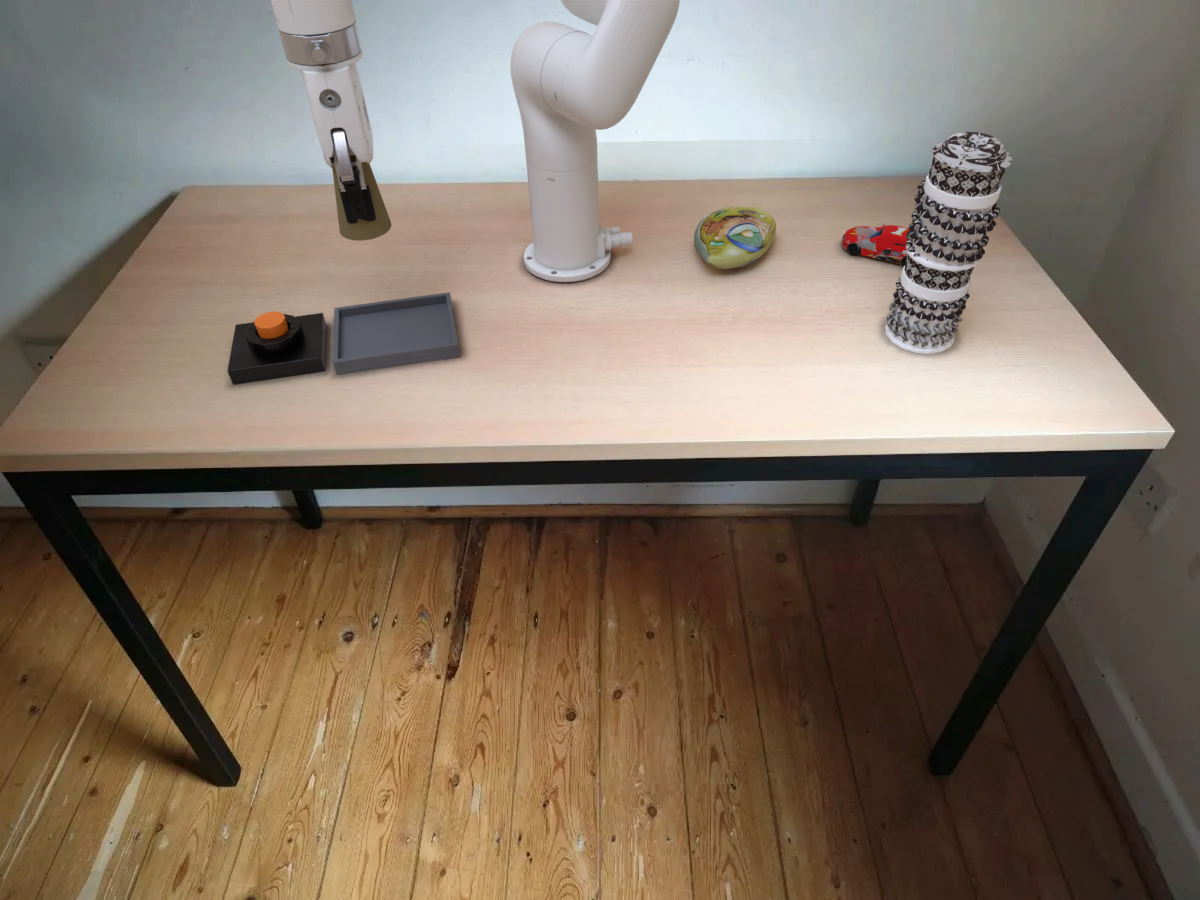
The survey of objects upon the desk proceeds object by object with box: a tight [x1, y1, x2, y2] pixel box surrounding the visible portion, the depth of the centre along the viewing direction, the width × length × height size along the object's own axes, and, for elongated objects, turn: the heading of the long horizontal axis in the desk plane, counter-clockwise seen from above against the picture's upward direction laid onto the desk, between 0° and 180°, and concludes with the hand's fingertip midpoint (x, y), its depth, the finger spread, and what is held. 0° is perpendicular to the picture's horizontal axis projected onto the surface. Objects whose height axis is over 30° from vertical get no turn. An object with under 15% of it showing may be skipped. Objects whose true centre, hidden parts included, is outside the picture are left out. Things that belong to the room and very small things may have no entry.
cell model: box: [693, 206, 777, 270], centre depth 119 cm, size 11×8×15 cm
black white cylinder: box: [884, 131, 1013, 355], centre depth 97 cm, size 9×9×25 cm
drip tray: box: [332, 291, 461, 376], centre depth 107 cm, size 15×12×2 cm
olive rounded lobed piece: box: [323, 136, 392, 242], centre depth 94 cm, size 6×6×11 cm
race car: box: [841, 224, 911, 267], centre depth 119 cm, size 13×5×4 cm, turn 60°
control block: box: [226, 312, 328, 386], centre depth 104 cm, size 11×10×4 cm
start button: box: [254, 311, 289, 339], centre depth 103 cm, size 4×4×2 cm
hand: (361, 209), depth 96 cm, fingers closed on olive rounded lobed piece, 4 cm apart
